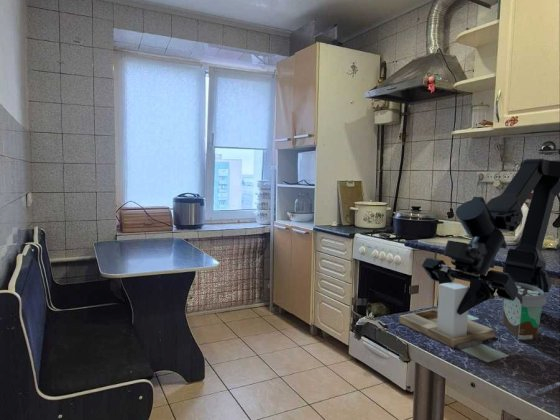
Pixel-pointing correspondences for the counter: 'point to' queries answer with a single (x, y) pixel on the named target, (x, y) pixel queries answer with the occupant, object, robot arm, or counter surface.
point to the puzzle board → (469, 343)
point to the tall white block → (451, 310)
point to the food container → (524, 312)
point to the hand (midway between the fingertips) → (448, 310)
